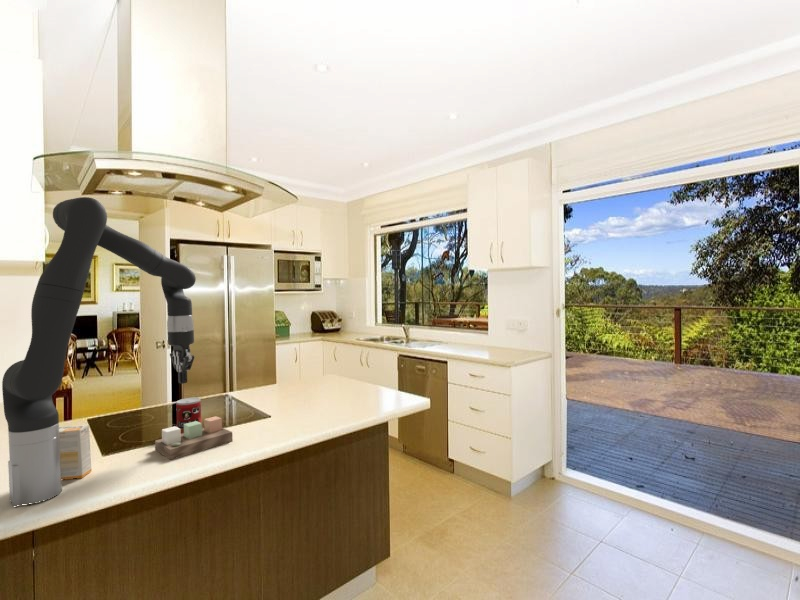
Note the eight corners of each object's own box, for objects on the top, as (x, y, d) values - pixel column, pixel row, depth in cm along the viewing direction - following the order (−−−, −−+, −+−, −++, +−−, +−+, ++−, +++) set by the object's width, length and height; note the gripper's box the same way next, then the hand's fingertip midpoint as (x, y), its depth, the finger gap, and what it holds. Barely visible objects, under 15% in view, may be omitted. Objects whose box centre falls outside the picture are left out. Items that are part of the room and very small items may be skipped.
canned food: (174, 436, 143) (173, 404, 143) (180, 428, 150) (179, 398, 150) (199, 433, 145) (198, 402, 145) (203, 426, 153) (202, 396, 152)
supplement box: (92, 471, 116) (90, 424, 115) (82, 478, 111) (80, 429, 111) (59, 473, 114) (57, 426, 114) (47, 481, 110) (45, 432, 109)
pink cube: (210, 433, 136) (209, 421, 136) (204, 431, 139) (204, 419, 139) (221, 430, 139) (221, 418, 139) (216, 427, 142) (215, 416, 142)
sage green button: (189, 439, 131) (189, 426, 131) (184, 436, 134) (183, 424, 134) (202, 435, 134) (201, 423, 134) (196, 433, 137) (196, 421, 137)
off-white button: (167, 445, 126) (166, 432, 126) (162, 442, 129) (161, 429, 129) (181, 441, 129) (180, 428, 129) (175, 438, 132) (175, 426, 132)
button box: (170, 459, 122) (170, 447, 122) (155, 450, 130) (154, 438, 130) (232, 441, 137) (232, 430, 137) (215, 433, 145) (215, 423, 145)
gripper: (159, 329, 136) (162, 382, 136) (177, 331, 127) (179, 388, 128) (183, 327, 141) (185, 378, 142) (201, 329, 133) (204, 383, 134)
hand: (182, 383), depth 135 cm, fingers closed
